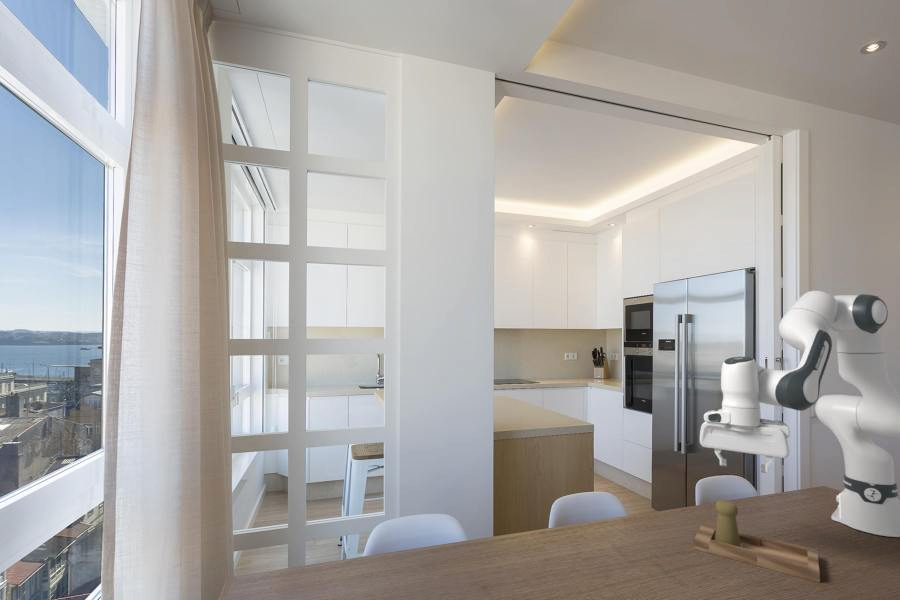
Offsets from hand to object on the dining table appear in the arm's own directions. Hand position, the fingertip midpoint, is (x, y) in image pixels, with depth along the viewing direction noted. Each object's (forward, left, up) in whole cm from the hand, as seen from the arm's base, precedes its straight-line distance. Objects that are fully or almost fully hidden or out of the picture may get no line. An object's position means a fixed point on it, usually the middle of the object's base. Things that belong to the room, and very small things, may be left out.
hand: (743, 469), depth 121 cm
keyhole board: (+1, +2, -21) cm, 21 cm away
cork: (+1, -4, -20) cm, 21 cm away
